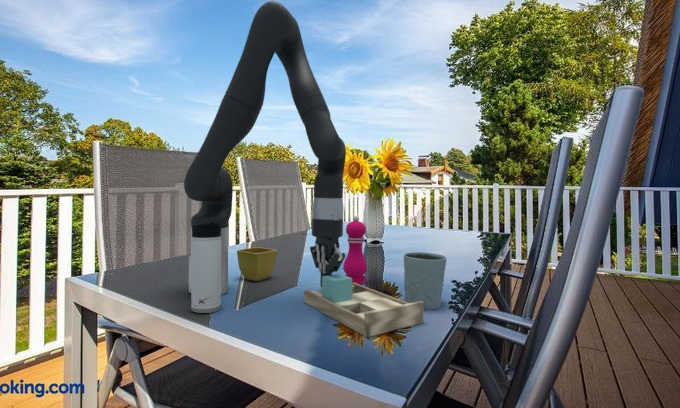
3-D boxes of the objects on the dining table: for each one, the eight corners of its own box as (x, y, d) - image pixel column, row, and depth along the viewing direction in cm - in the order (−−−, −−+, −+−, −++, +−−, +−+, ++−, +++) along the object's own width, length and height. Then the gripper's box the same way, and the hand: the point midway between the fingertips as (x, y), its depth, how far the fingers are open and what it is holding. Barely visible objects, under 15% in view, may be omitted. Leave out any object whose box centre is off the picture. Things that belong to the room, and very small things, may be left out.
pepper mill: (365, 285, 105) (366, 217, 105) (340, 284, 107) (341, 216, 106) (368, 280, 112) (369, 215, 112) (345, 278, 114) (346, 214, 113)
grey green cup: (400, 297, 94) (401, 251, 94) (439, 298, 94) (440, 252, 94) (405, 310, 84) (407, 258, 84) (450, 311, 84) (451, 259, 83)
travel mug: (204, 316, 78) (205, 223, 77) (185, 310, 81) (185, 221, 81) (227, 308, 83) (228, 221, 82) (208, 303, 87) (209, 219, 86)
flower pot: (277, 278, 113) (277, 249, 112) (256, 284, 105) (257, 253, 105) (256, 274, 118) (257, 246, 117) (235, 279, 110) (236, 250, 110)
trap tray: (366, 337, 68) (367, 314, 68) (304, 302, 89) (304, 284, 89) (423, 322, 76) (423, 301, 76) (354, 293, 97) (354, 277, 97)
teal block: (333, 303, 81) (333, 280, 81) (321, 297, 85) (322, 276, 85) (351, 299, 83) (352, 278, 83) (339, 294, 88) (340, 273, 87)
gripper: (300, 215, 91) (299, 283, 92) (329, 219, 80) (327, 297, 81) (326, 214, 95) (324, 280, 96) (356, 218, 84) (354, 292, 85)
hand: (325, 287), depth 88 cm, fingers closed
